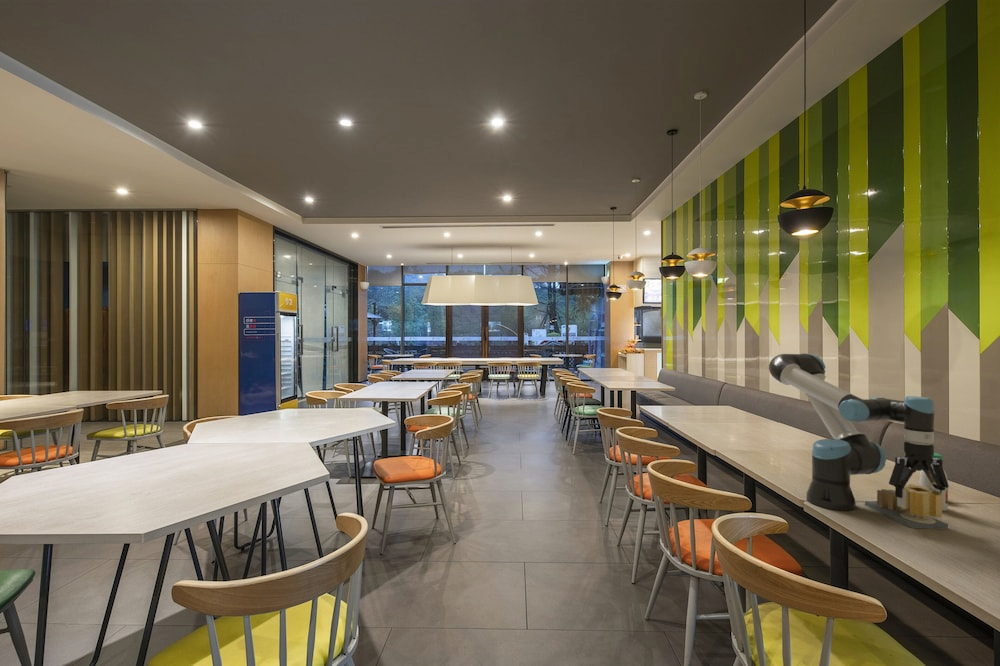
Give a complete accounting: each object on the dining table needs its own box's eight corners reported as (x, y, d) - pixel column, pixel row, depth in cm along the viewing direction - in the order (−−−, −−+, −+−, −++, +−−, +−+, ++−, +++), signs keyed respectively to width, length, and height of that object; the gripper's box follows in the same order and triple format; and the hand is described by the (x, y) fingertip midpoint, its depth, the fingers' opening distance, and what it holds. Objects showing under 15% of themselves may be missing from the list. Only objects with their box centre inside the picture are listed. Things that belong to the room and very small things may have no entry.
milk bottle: (942, 513, 165) (943, 457, 165) (915, 505, 172) (915, 452, 171) (951, 509, 168) (952, 455, 168) (924, 502, 175) (925, 450, 175)
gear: (916, 517, 151) (916, 494, 151) (890, 505, 161) (890, 484, 161) (948, 517, 150) (948, 495, 150) (920, 506, 161) (920, 484, 161)
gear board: (910, 527, 152) (911, 505, 152) (864, 504, 172) (865, 485, 172) (948, 528, 151) (948, 506, 151) (897, 505, 171) (897, 486, 171)
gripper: (893, 444, 152) (892, 510, 152) (964, 445, 152) (963, 512, 152) (875, 439, 160) (875, 502, 160) (943, 440, 159) (942, 504, 159)
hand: (918, 507), depth 156 cm, fingers closed on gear, 10 cm apart
